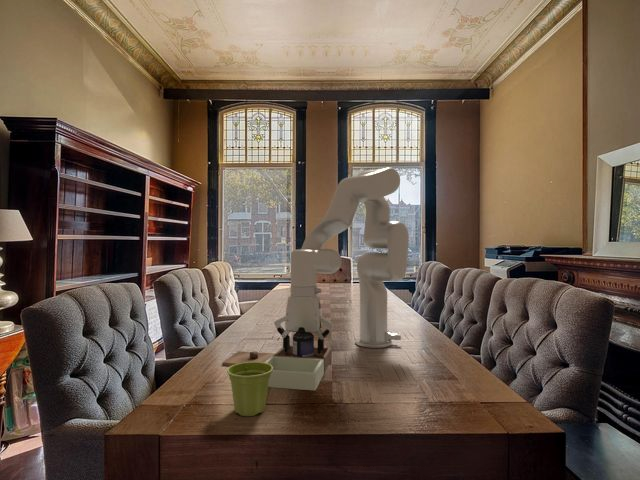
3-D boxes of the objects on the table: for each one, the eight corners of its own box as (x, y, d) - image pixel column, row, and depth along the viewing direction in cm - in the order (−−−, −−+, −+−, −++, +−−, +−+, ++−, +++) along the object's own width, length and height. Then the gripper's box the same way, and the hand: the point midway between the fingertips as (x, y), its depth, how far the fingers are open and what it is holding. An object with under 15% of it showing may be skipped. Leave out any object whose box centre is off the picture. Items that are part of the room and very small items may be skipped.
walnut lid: (283, 356, 115) (283, 348, 115) (271, 368, 104) (271, 359, 104) (238, 353, 118) (238, 346, 118) (222, 365, 107) (222, 356, 107)
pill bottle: (316, 361, 110) (317, 324, 110) (309, 368, 104) (309, 328, 104) (297, 359, 112) (297, 322, 112) (289, 365, 106) (289, 326, 107)
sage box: (323, 374, 100) (323, 359, 100) (315, 390, 88) (315, 373, 88) (271, 370, 102) (271, 356, 102) (256, 386, 91) (256, 370, 91)
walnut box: (331, 359, 113) (331, 347, 113) (324, 372, 101) (324, 358, 101) (284, 356, 115) (284, 345, 115) (272, 368, 104) (272, 356, 104)
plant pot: (230, 401, 82) (230, 361, 82) (273, 400, 83) (273, 360, 83) (222, 421, 73) (223, 376, 73) (271, 420, 73) (272, 375, 74)
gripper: (335, 291, 111) (334, 349, 110) (278, 289, 114) (278, 346, 114) (331, 294, 103) (331, 357, 103) (270, 292, 106) (270, 353, 106)
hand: (303, 351), depth 108 cm, fingers open, 9 cm apart
